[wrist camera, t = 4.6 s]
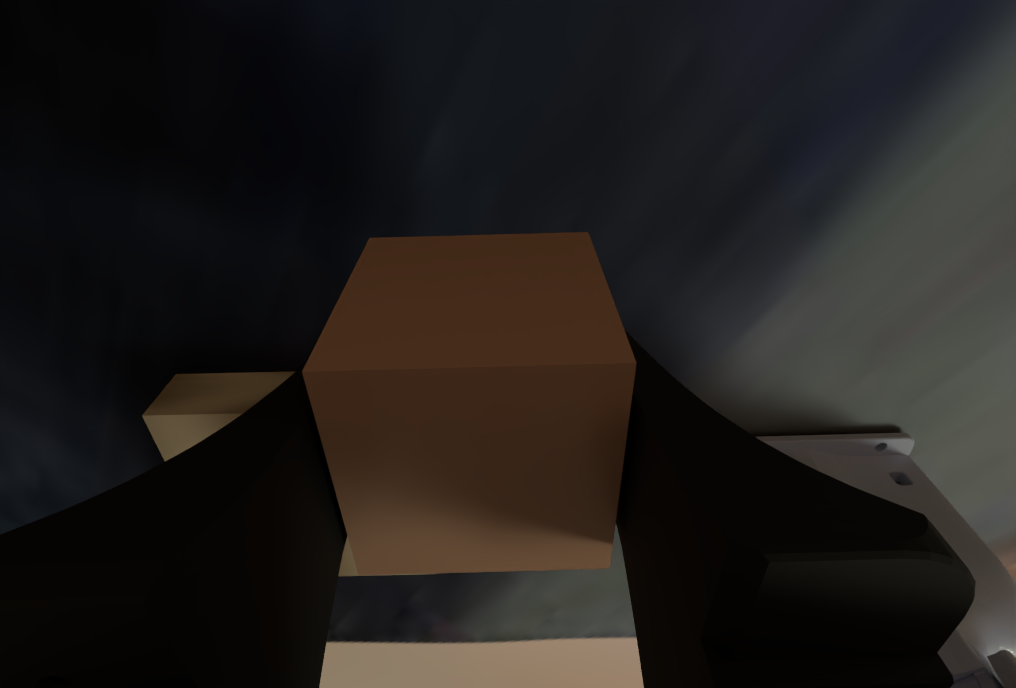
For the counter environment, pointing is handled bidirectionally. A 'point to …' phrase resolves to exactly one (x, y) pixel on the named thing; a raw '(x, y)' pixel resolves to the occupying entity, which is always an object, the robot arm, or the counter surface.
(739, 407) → the counter surface
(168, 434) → the oak block
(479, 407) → the brown cube
